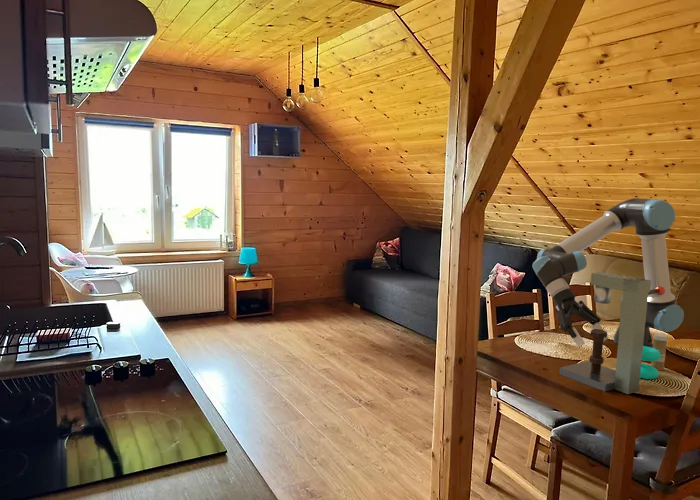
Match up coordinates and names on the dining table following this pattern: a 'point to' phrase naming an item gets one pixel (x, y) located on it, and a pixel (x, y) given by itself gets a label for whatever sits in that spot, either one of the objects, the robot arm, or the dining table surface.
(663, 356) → the sprinkles bottle
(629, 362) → the press
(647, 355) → the donuts
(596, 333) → the bolt
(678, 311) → the robot arm
